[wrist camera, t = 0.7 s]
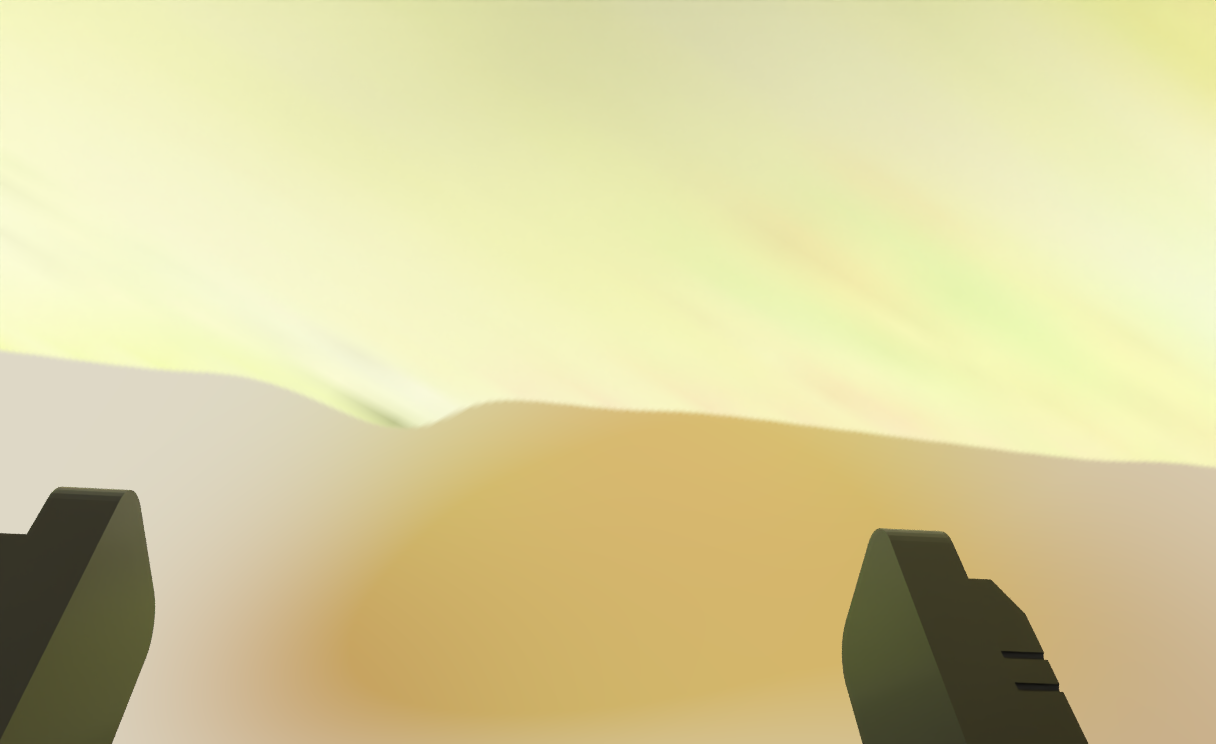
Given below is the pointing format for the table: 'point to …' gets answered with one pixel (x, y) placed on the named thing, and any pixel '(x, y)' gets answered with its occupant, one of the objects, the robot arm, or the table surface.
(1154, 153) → the table surface
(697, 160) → the table surface
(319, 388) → the table surface
